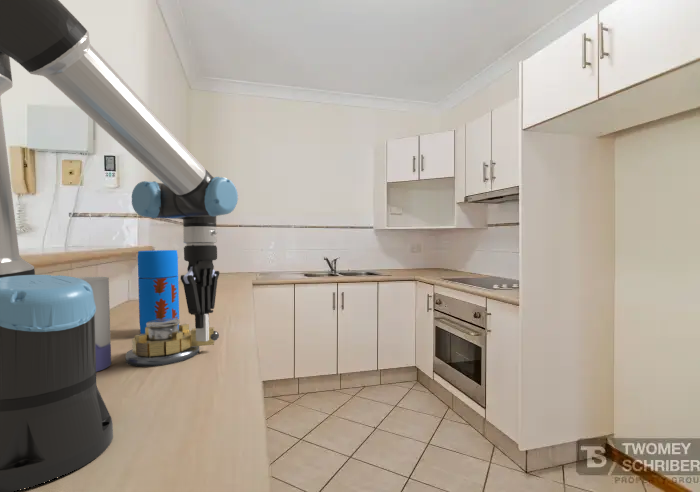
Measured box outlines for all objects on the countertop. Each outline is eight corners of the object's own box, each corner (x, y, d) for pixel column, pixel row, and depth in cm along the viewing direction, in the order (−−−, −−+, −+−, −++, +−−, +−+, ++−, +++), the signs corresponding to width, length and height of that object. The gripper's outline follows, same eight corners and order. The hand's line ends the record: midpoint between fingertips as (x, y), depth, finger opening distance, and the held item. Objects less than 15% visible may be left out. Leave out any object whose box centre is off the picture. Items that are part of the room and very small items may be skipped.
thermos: (142, 330, 113) (139, 250, 113) (179, 326, 118) (177, 249, 117) (138, 338, 103) (135, 251, 103) (179, 334, 108) (177, 250, 107)
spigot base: (160, 370, 78) (159, 332, 78) (109, 362, 84) (108, 326, 84) (214, 348, 93) (214, 316, 93) (169, 342, 99) (168, 312, 99)
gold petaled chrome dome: (125, 358, 80) (124, 338, 80) (142, 342, 93) (142, 325, 93) (216, 350, 85) (216, 331, 85) (221, 336, 98) (221, 320, 98)
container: (98, 358, 86) (95, 275, 86) (120, 365, 81) (117, 277, 81) (46, 372, 78) (43, 280, 77) (67, 381, 73) (64, 282, 72)
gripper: (198, 244, 81) (201, 348, 81) (228, 244, 94) (229, 334, 94) (169, 245, 82) (171, 347, 83) (202, 244, 95) (203, 333, 95)
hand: (202, 340), depth 88 cm, fingers closed
